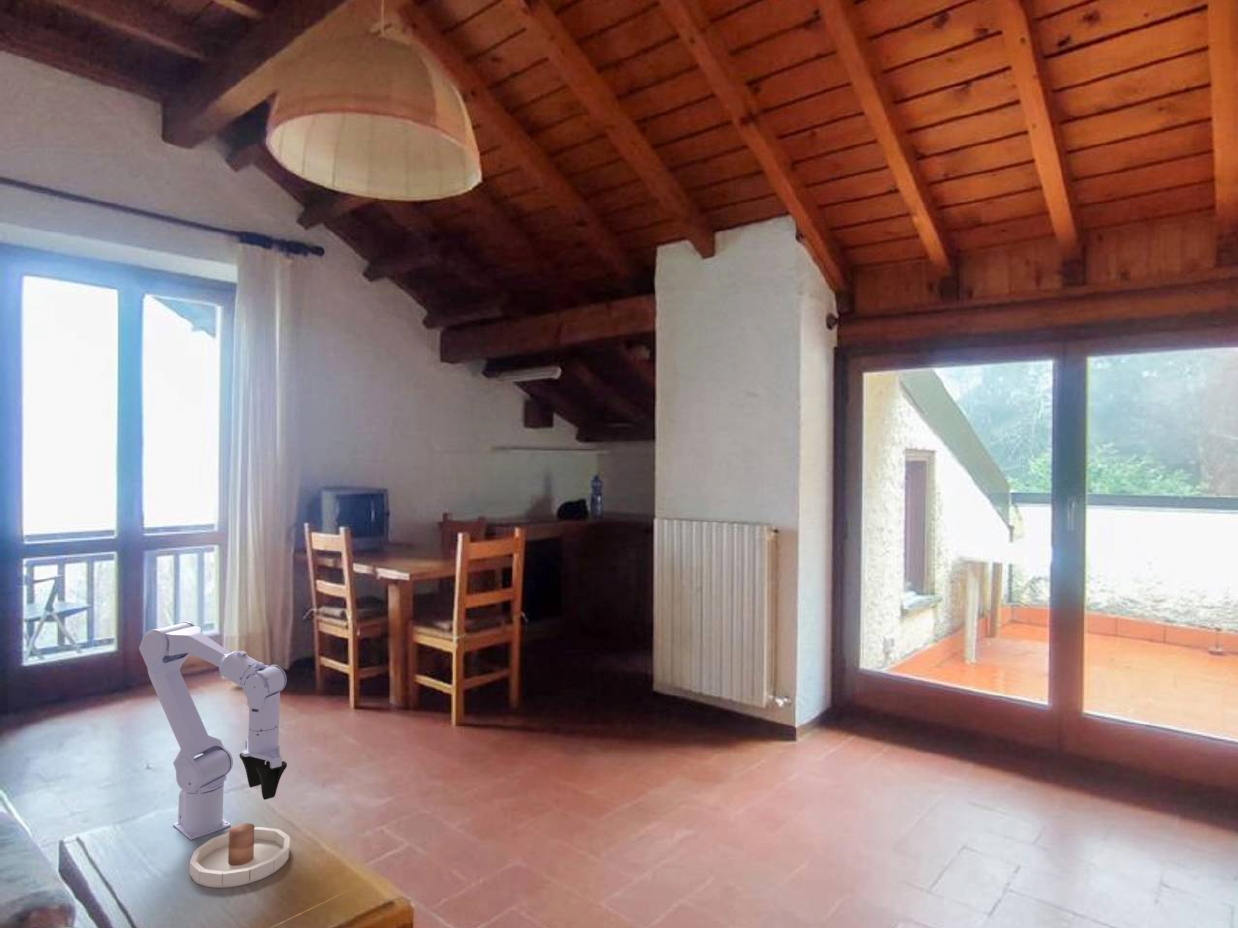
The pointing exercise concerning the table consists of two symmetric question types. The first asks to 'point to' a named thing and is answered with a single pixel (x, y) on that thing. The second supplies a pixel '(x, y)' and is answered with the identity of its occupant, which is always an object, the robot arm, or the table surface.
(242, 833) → the brown rounded cylinder
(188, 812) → the robot arm
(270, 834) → the round tray
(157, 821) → the table surface
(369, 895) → the table surface
